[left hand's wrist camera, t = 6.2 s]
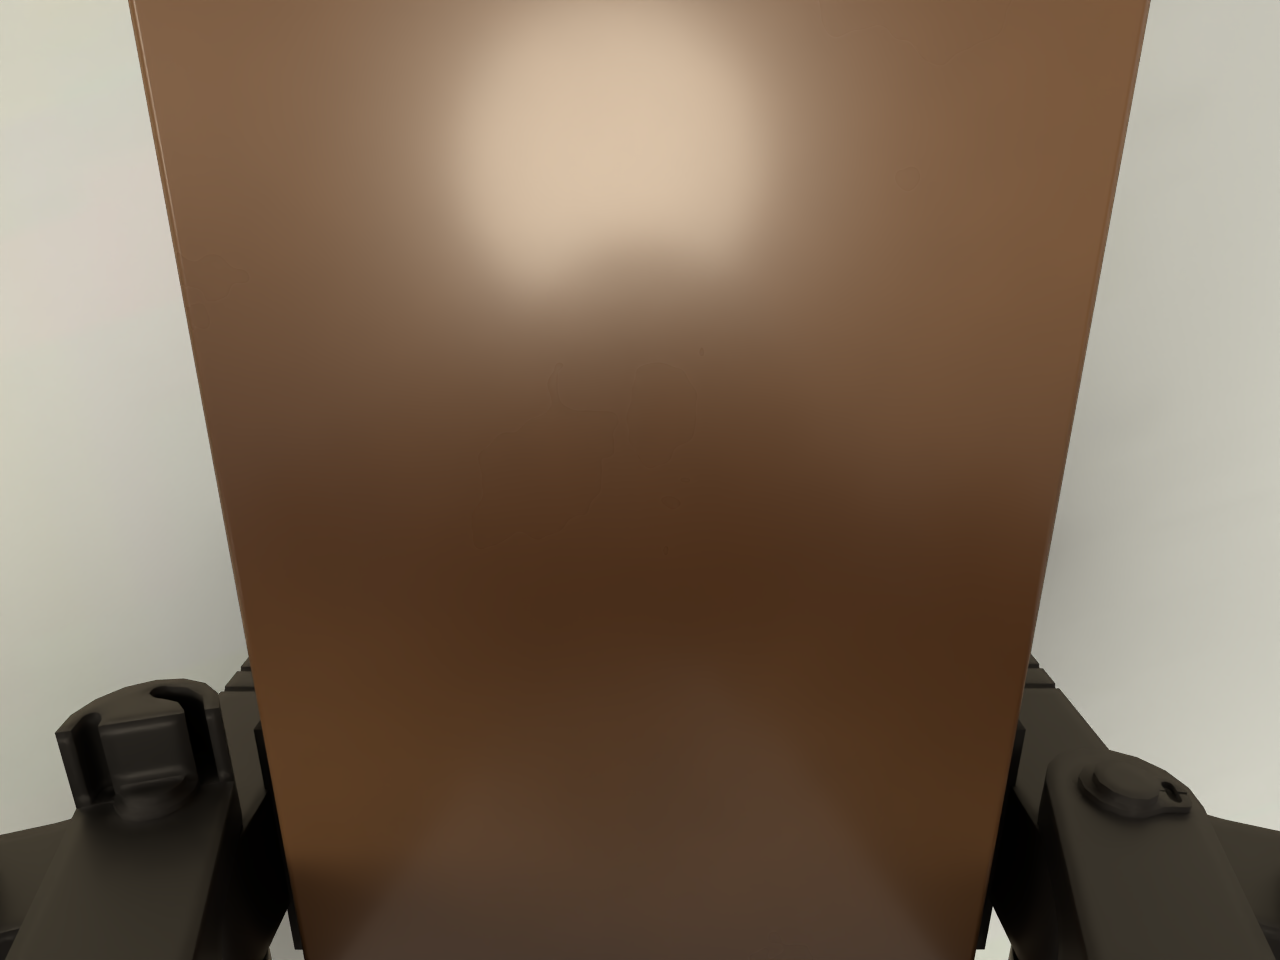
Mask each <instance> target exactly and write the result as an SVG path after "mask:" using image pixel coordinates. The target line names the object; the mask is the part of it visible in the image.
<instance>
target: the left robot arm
mask: <svg viewBox="0 0 1280 960" xmlns="http://www.w3.org/2000/svg"><path fill="white" fill-rule="evenodd" d="M55 735H56V738H57V742H58V745H59V749H60V752H61V756H62V759H63V763H64V766H65V770H66V773H67V777H68V780H69V784H70V787H71V791H72V794H73V798H74V801H75V805H76V808H77V809H76V811H75V813H74V815H73V817H72V819H69V820H66V821H62V822H58V823H55V824H50V825H45V826H41V827H36V828H31V829H27V830H22V831H17V832H13V833H8V834H3V835H0V960H272V959H271V954H270V949H269V946H270V944H271V942H272V940H273V938H274V936H275V933H276V931H277V929H278V927H279V925H280V923H281V921H282V919H283V917H284V915H285V913H286V911H287V910H288V916H289V921H290V926H291V931H292V937H293V942H294V947H295V950H303V948H302V943H301V938H300V932H299V927H298V921H297V916H296V910H295V905H294V900H293V894H292V889H291V883H290V878H289V872H288V867H287V861H286V856H285V851H284V845H283V840H282V834H281V829H280V823H279V818H278V813H277V807H276V802H275V796H274V791H273V785H272V780H271V774H270V769H269V764H268V758H267V753H266V747H265V742H264V736H263V731H262V726H261V720H260V715H259V709H258V704H257V698H256V693H255V687H254V682H253V677H252V671H251V666H250V660H249V657H248V659H247V660H246V661H245V662H244V664H243V665H242V666H241V671H237V672H236V674H235V675H234V676H233V677H232V679H231V680H230V681H229V682H228V683H227V685H226V686H225V691H224V692H220V693H219V695H218V693H217V692H216V691H214V690H213V689H212V688H211V687H209V686H208V685H207V684H206V683H202V682H197V681H193V680H188V679H167V680H154V681H150V682H146V683H141V684H137V685H133V686H128V687H125V688H122V689H120V690H117V691H115V692H112V693H110V694H108V695H105V696H103V697H100V698H98V699H95V700H94V701H92V702H91V703H89V704H88V705H86V706H84V707H83V708H81V709H80V710H78V711H77V712H75V713H74V714H72V715H71V716H70V717H69V718H68V719H67V720H66V721H65V722H64V723H63V724H62V726H61V727H60V728H59V729H58V730H57V731H56V732H55ZM992 907H994V909H995V911H996V914H997V916H998V918H999V920H1000V922H1001V924H1002V926H1003V928H1004V930H1005V932H1006V934H1007V936H1008V938H1009V941H1010V943H1011V949H1010V954H1009V959H1008V960H1280V831H1276V830H1271V829H1267V828H1262V827H1257V826H1253V825H1248V824H1243V823H1238V822H1234V821H1229V820H1224V819H1221V818H1217V817H1214V816H1210V815H1207V813H1206V811H1205V809H1204V807H1203V806H1202V805H1201V803H1200V802H1199V801H1198V799H1197V798H1196V797H1195V795H1194V794H1193V793H1192V791H1191V790H1190V789H1189V788H1188V787H1187V786H1185V785H1184V784H1183V783H1181V782H1180V781H1179V780H1177V779H1176V778H1175V777H1173V776H1172V775H1171V774H1169V773H1168V772H1167V771H1165V770H1163V769H1161V768H1159V767H1157V766H1154V765H1152V764H1150V763H1148V762H1146V761H1144V760H1142V759H1140V758H1137V757H1134V756H1130V755H1126V754H1123V753H1119V752H1115V751H1111V750H1109V749H1108V748H1107V747H1106V745H1105V744H1104V743H1103V742H1102V741H1101V739H1100V738H1099V737H1098V736H1097V734H1096V733H1095V732H1094V731H1093V729H1092V728H1091V727H1090V726H1089V725H1088V723H1087V722H1086V721H1085V720H1084V718H1083V717H1082V716H1081V715H1080V713H1079V712H1078V711H1077V710H1076V709H1075V707H1074V706H1073V705H1072V704H1071V702H1070V701H1069V700H1068V699H1067V698H1066V696H1065V695H1064V694H1063V693H1062V691H1061V690H1060V689H1059V688H1055V683H1054V682H1053V680H1052V679H1051V678H1050V677H1049V675H1048V674H1047V673H1046V672H1045V671H1044V669H1043V668H1039V663H1038V662H1037V661H1036V659H1035V658H1034V657H1033V656H1032V655H1031V654H1030V659H1029V664H1028V670H1027V675H1026V681H1025V686H1024V692H1023V697H1022V702H1021V708H1020V713H1019V719H1018V724H1017V730H1016V735H1015V741H1014V746H1013V751H1012V757H1011V762H1010V768H1009V773H1008V779H1007V784H1006V789H1005V795H1004V800H1003V806H1002V811H1001V817H1000V822H999V827H998V833H997V838H996V844H995V849H994V855H993V860H992V866H991V871H990V876H989V882H988V887H987V893H986V898H985V904H984V909H983V914H982V920H981V925H980V931H979V936H978V942H977V947H976V949H985V944H986V939H987V934H988V928H989V923H990V918H991V913H992Z"/></svg>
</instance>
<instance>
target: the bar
mask: <svg viewBox="0 0 1280 960" xmlns="http://www.w3.org/2000/svg"><path fill="white" fill-rule="evenodd" d="M1150 1H1151V0H128V2H129V8H130V13H131V19H132V24H133V29H134V35H135V40H136V46H137V51H138V57H139V62H140V68H141V73H142V78H143V84H144V89H145V95H146V100H147V106H148V111H149V116H150V122H151V127H152V133H153V138H154V144H155V149H156V155H157V160H158V165H159V171H160V176H161V182H162V187H163V193H164V198H165V203H166V209H167V214H168V220H169V225H170V231H171V236H172V242H173V247H174V252H175V258H176V263H177V269H178V274H179V280H180V285H181V290H182V296H183V301H184V307H185V312H186V318H187V323H188V329H189V334H190V339H191V345H192V350H193V356H194V361H195V367H196V372H197V378H198V383H199V388H200V394H201V399H202V405H203V410H204V416H205V421H206V426H207V432H208V437H209V443H210V448H211V454H212V459H213V465H214V470H215V475H216V481H217V486H218V492H219V497H220V503H221V508H222V513H223V519H224V524H225V530H226V535H227V541H228V546H229V552H230V557H231V562H232V568H233V573H234V579H235V584H236V590H237V595H238V600H239V606H240V611H241V617H242V622H243V628H244V633H245V639H246V644H247V649H248V655H249V660H250V666H251V671H252V677H253V682H254V687H255V693H256V698H257V704H258V709H259V715H260V720H261V726H262V731H263V736H264V742H265V747H266V753H267V758H268V764H269V769H270V774H271V780H272V785H273V791H274V796H275V802H276V807H277V813H278V818H279V823H280V829H281V834H282V840H283V845H284V851H285V856H286V861H287V867H288V872H289V878H290V883H291V889H292V894H293V900H294V905H295V910H296V916H297V921H298V927H299V932H300V938H301V943H302V948H303V954H304V959H305V960H974V958H975V953H976V947H977V942H978V936H979V931H980V925H981V920H982V914H983V909H984V904H985V898H986V893H987V887H988V882H989V876H990V871H991V866H992V860H993V855H994V849H995V844H996V838H997V833H998V827H999V822H1000V817H1001V811H1002V806H1003V800H1004V795H1005V789H1006V784H1007V779H1008V773H1009V768H1010V762H1011V757H1012V751H1013V746H1014V741H1015V735H1016V730H1017V724H1018V719H1019V713H1020V708H1021V702H1022V697H1023V692H1024V686H1025V681H1026V675H1027V670H1028V664H1029V659H1030V654H1031V648H1032V643H1033V637H1034V632H1035V626H1036V621H1037V615H1038V610H1039V605H1040V599H1041V594H1042V588H1043V583H1044V577H1045V572H1046V567H1047V561H1048V556H1049V550H1050V545H1051V539H1052V534H1053V529H1054V523H1055V518H1056V512H1057V507H1058V501H1059V496H1060V490H1061V485H1062V480H1063V474H1064V469H1065V463H1066V458H1067V452H1068V447H1069V442H1070V436H1071V431H1072V425H1073V420H1074V414H1075V409H1076V403H1077V398H1078V393H1079V387H1080V382H1081V376H1082V371H1083V365H1084V360H1085V355H1086V349H1087V344H1088V338H1089V333H1090V327H1091V322H1092V317H1093V311H1094V306H1095V300H1096V295H1097V289H1098V284H1099V278H1100V273H1101V268H1102V262H1103V257H1104V251H1105V246H1106V240H1107V235H1108V230H1109V224H1110V219H1111V213H1112V208H1113V202H1114V197H1115V191H1116V186H1117V181H1118V175H1119V170H1120V164H1121V159H1122V153H1123V148H1124V143H1125V137H1126V132H1127V126H1128V121H1129V115H1130V110H1131V105H1132V99H1133V94H1134V88H1135V83H1136V77H1137V72H1138V66H1139V61H1140V56H1141V50H1142V45H1143V39H1144V34H1145V28H1146V23H1147V18H1148V12H1149V7H1150Z"/></svg>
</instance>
